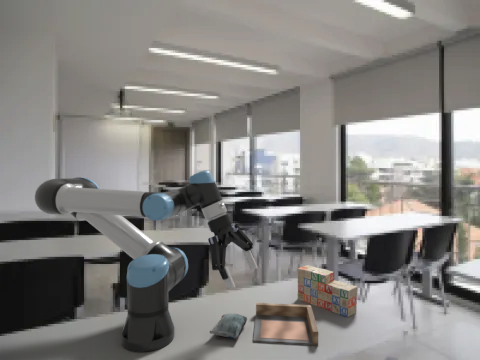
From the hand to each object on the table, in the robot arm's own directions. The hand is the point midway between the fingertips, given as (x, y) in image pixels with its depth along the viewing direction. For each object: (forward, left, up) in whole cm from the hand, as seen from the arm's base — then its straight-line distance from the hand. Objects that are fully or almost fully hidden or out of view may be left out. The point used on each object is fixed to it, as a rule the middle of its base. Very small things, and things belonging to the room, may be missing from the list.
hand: (243, 278), depth 103 cm
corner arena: (+13, -1, -15) cm, 20 cm away
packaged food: (-4, -5, -16) cm, 17 cm away
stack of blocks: (+29, +18, -16) cm, 38 cm away
